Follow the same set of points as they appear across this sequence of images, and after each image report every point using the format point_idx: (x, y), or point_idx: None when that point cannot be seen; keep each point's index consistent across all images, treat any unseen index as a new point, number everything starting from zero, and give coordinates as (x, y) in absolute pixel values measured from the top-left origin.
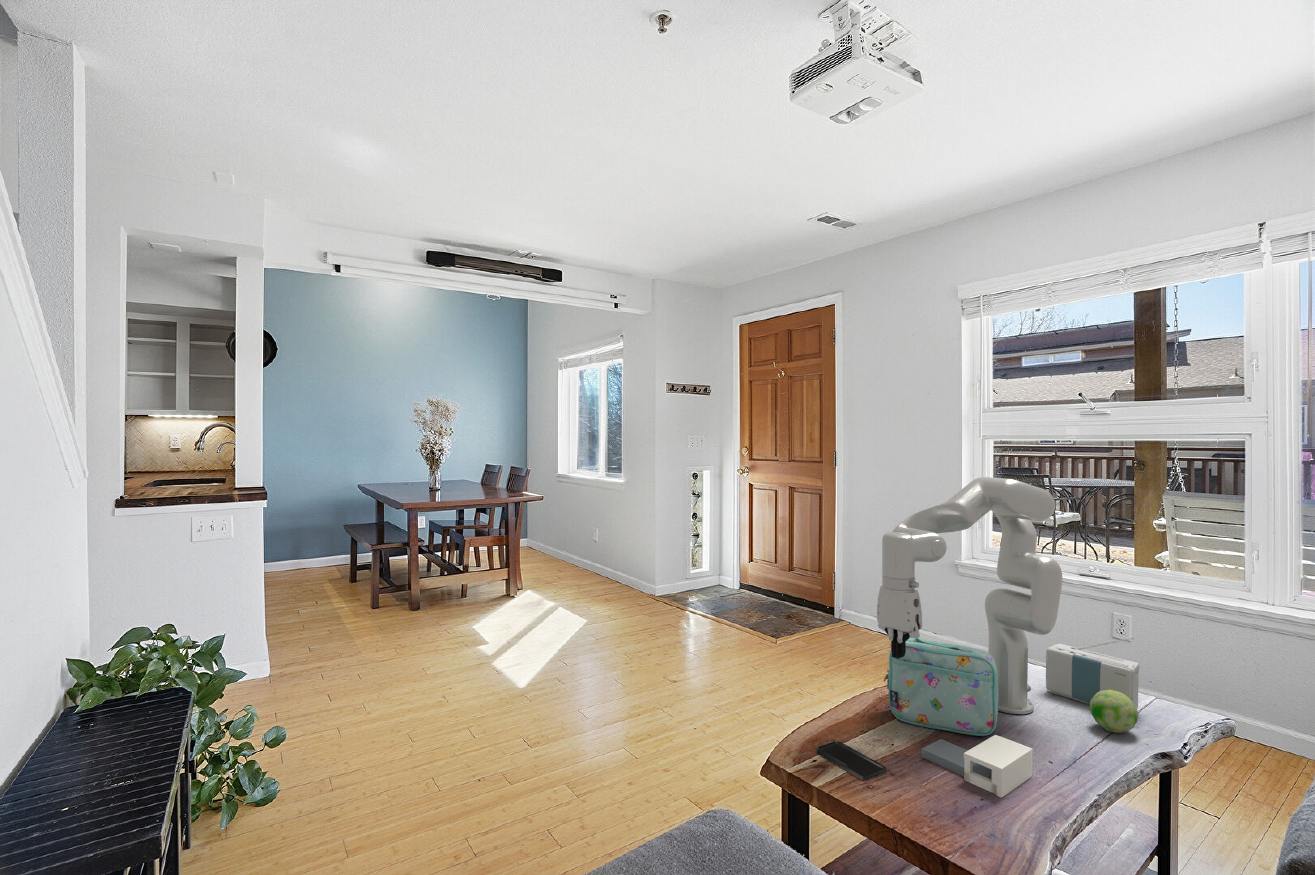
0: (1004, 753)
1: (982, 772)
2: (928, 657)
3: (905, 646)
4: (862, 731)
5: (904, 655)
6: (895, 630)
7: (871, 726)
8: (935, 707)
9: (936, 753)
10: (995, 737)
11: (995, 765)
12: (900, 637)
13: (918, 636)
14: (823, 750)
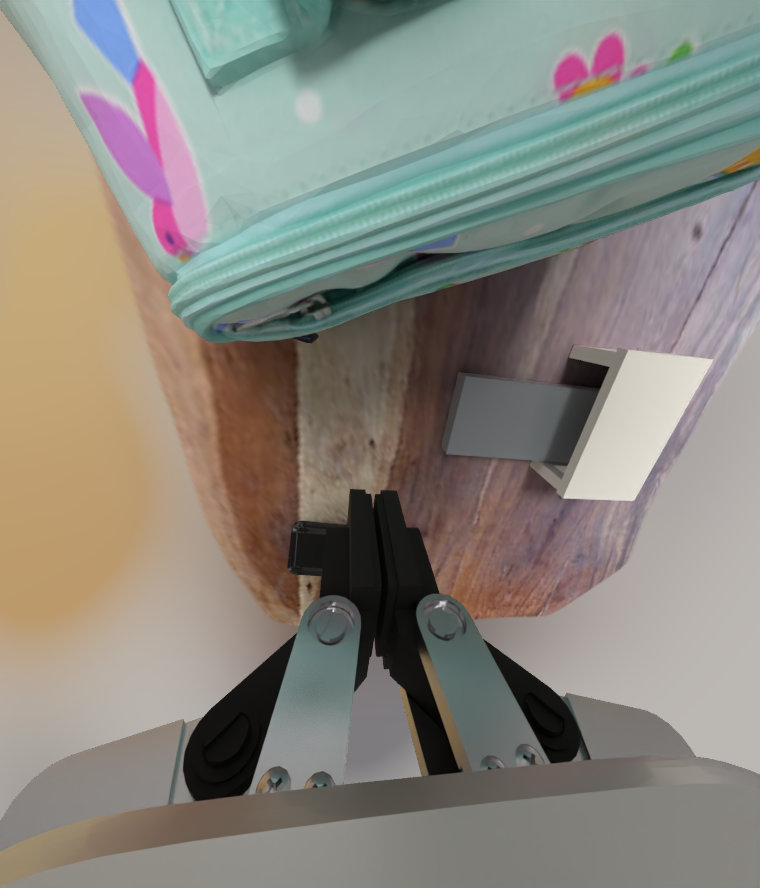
0: (643, 437)
1: (568, 451)
2: (487, 247)
3: (431, 571)
4: (290, 440)
5: (396, 495)
6: (315, 728)
7: (286, 400)
8: (439, 289)
9: (477, 449)
10: (628, 368)
11: (623, 498)
12: (443, 736)
13: (666, 748)
14: (301, 566)
